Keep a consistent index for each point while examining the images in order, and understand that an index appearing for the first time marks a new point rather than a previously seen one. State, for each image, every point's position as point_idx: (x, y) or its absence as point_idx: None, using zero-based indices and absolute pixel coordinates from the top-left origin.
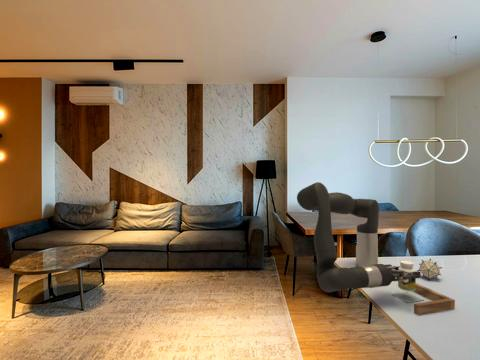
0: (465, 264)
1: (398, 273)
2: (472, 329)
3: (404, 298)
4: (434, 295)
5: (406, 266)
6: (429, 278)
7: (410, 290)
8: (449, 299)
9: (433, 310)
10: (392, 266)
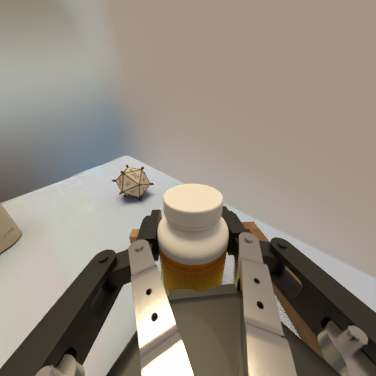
0: (134, 163)
1: (291, 342)
2: (353, 270)
3: None
4: None
5: (217, 219)
6: (140, 196)
7: None
8: (253, 227)
9: None
10: (149, 276)
